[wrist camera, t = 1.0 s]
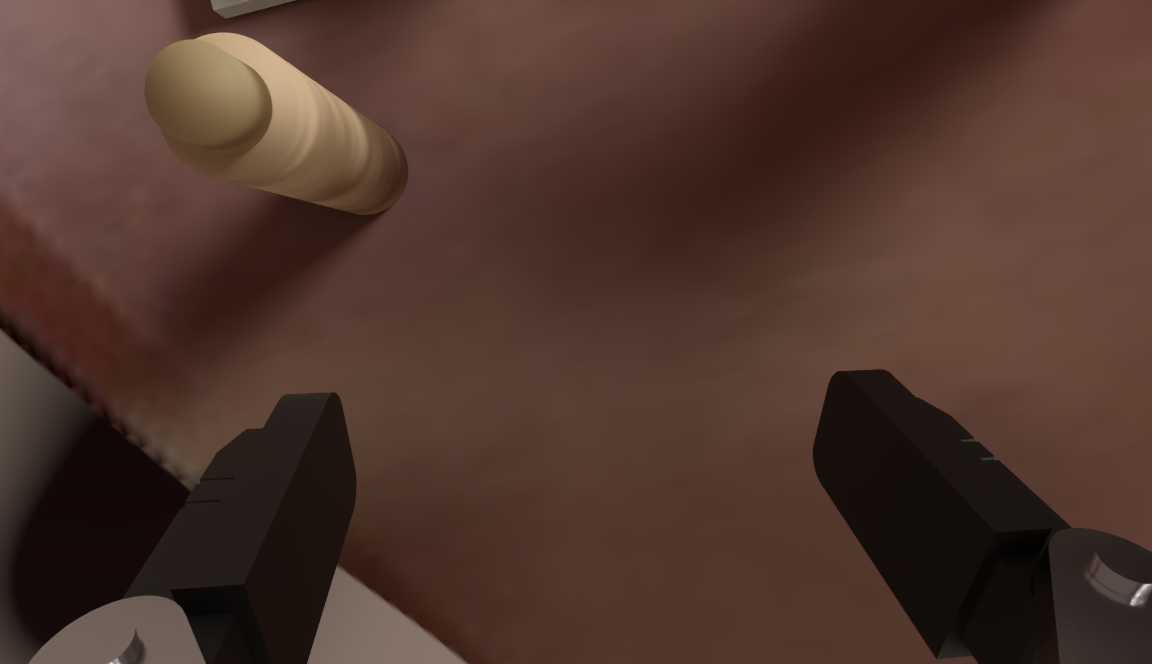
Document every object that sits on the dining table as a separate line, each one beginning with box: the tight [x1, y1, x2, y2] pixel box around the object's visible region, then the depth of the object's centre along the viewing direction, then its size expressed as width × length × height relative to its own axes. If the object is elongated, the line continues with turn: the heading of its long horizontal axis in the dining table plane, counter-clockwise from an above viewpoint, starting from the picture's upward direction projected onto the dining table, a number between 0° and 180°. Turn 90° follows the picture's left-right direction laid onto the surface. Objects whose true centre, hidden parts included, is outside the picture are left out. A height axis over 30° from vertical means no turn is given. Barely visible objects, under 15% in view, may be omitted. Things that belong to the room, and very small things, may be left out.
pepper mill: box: [145, 33, 408, 215], centre depth 25 cm, size 5×5×14 cm
